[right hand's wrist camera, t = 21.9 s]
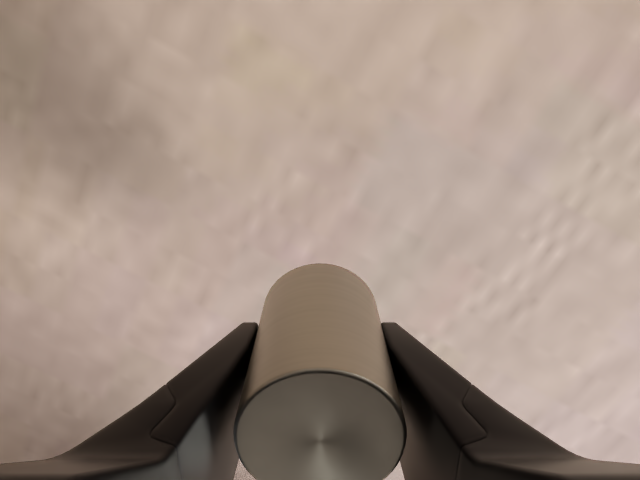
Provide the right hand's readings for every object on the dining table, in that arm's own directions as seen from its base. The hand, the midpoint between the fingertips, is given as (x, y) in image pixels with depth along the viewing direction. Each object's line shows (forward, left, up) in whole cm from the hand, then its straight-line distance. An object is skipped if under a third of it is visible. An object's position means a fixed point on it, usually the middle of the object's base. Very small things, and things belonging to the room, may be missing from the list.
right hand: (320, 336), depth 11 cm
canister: (0, 0, -1) cm, 1 cm away
